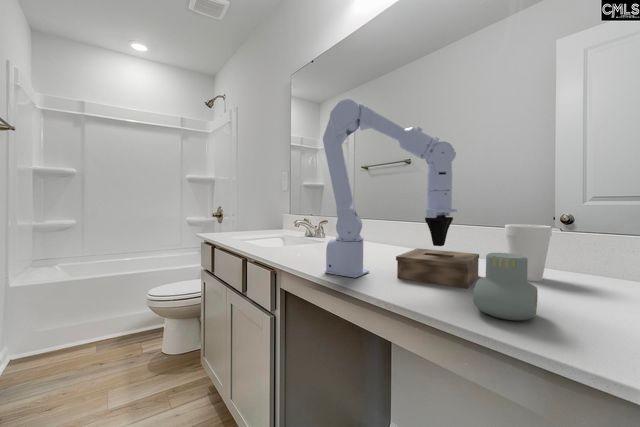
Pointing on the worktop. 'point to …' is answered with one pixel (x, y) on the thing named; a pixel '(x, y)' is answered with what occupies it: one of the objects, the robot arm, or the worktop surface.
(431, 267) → the money box
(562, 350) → the worktop surface
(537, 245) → the foam cup
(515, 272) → the air freshener
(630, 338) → the worktop surface
